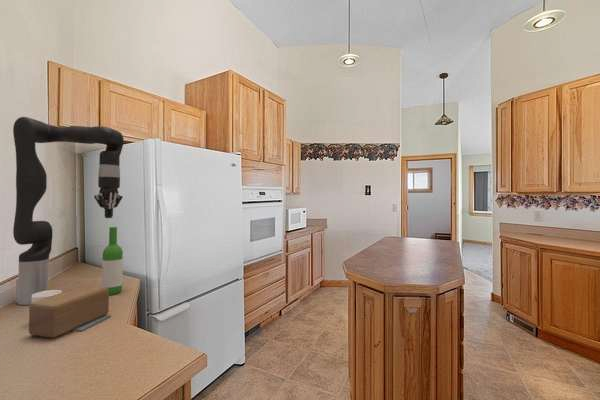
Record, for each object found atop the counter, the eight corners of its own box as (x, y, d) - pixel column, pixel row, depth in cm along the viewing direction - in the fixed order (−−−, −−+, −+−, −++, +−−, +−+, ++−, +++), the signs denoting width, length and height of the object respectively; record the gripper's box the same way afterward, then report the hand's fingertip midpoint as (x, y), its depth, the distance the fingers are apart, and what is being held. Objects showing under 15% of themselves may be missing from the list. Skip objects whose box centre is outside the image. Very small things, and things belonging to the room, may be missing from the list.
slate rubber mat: (48, 329, 94) (48, 327, 94) (80, 314, 106) (81, 313, 106) (82, 331, 93) (82, 329, 93) (110, 316, 105) (110, 315, 105)
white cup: (66, 319, 102) (67, 291, 102) (40, 328, 94) (41, 298, 95) (51, 316, 104) (52, 288, 105) (25, 325, 97) (25, 295, 97)
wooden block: (109, 313, 106) (53, 339, 86) (87, 311, 108) (27, 335, 88) (110, 286, 106) (53, 305, 86) (87, 284, 108) (27, 303, 88)
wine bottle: (97, 294, 129) (98, 227, 129) (114, 289, 136) (115, 226, 137) (109, 296, 126) (110, 228, 126) (126, 291, 133) (127, 227, 134)
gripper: (113, 177, 127) (112, 217, 127) (87, 174, 114) (86, 218, 114) (128, 177, 126) (128, 217, 126) (105, 174, 113) (104, 219, 113)
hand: (108, 217), depth 120 cm, fingers closed
